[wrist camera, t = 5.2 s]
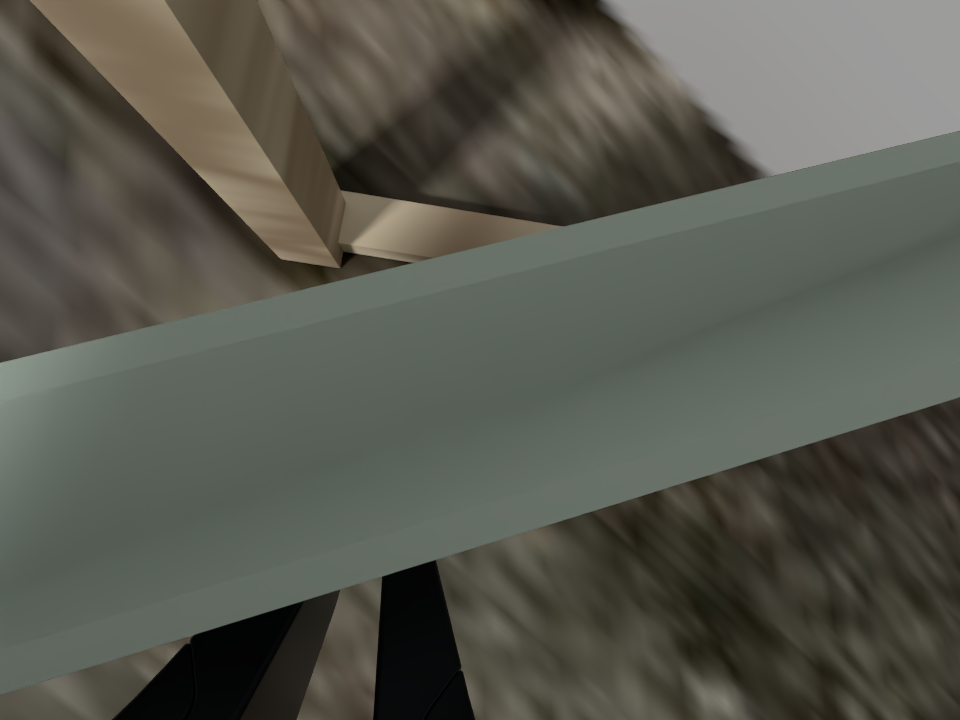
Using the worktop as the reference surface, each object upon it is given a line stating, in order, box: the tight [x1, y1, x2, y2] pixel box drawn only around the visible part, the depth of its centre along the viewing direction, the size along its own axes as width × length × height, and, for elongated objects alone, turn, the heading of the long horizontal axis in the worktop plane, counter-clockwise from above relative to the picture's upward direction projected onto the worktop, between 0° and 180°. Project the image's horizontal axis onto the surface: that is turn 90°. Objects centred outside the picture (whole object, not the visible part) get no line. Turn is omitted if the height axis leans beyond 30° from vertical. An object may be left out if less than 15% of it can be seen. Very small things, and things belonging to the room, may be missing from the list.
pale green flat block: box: [0, 131, 960, 695], centre depth 9 cm, size 14×2×12 cm, turn 106°
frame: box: [30, 0, 562, 268], centre depth 10 cm, size 17×4×14 cm, turn 82°
